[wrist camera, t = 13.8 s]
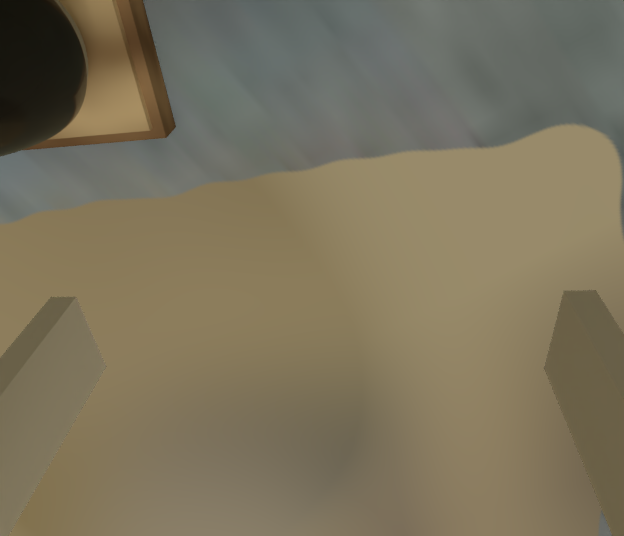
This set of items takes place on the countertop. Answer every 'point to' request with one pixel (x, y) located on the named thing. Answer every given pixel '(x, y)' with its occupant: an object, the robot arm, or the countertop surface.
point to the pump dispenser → (38, 72)
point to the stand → (117, 77)
